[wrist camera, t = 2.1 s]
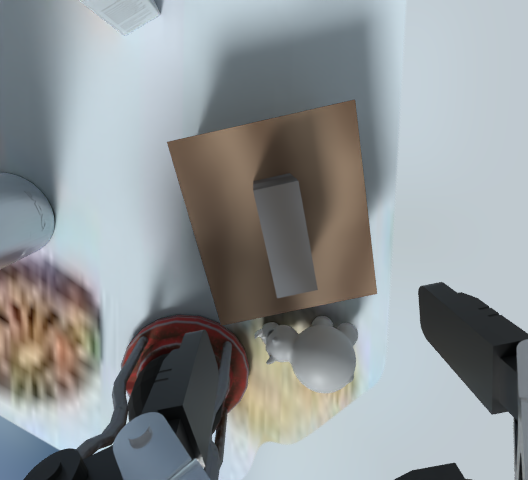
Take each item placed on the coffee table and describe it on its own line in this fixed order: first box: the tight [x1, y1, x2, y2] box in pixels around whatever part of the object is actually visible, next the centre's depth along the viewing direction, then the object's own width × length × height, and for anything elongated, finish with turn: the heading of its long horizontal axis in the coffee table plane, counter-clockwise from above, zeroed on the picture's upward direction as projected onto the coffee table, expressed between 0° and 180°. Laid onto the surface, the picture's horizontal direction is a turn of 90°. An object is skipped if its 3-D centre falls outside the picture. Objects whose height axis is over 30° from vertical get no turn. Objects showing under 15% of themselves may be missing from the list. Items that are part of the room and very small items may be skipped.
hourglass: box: [76, 315, 249, 480], centre depth 29 cm, size 16×16×25 cm
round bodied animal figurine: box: [255, 316, 358, 393], centre depth 37 cm, size 7×12×8 cm, turn 79°
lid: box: [167, 100, 377, 326], centre depth 25 cm, size 15×17×7 cm
